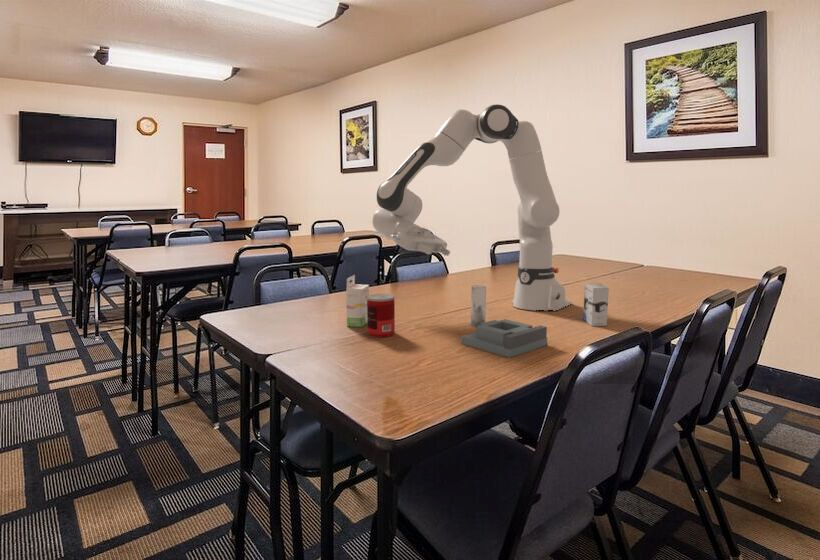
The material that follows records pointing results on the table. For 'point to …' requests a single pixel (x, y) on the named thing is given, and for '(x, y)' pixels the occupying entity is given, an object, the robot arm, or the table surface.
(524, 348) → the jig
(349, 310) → the ink box
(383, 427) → the table surface
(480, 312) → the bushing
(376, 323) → the canned food
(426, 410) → the table surface
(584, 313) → the ink box
